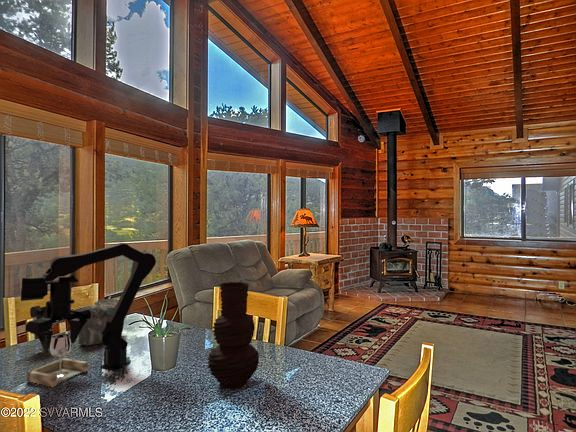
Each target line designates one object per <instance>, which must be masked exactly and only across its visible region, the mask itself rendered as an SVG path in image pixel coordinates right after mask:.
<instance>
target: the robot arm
mask: <svg viewBox="0 0 576 432" xmlns="http://www.w3.org/2000/svg"><path fill="white" fill-rule="evenodd" d="M122 256H123V257H125V258H127V259H129V260H131V261H132V265H131V273H130V276H129V278H128V280H127V282H126V285H125V286H124V289H123V291H122V293H121V294H120V297H119V299H118V300H119V301H118V303H117V305H116V307H115V309H114V311H113V313H112V315H111V316H110V317H109V318H108V319H106V318H103V320H102V323H101V325H100V327H99V328H98V330H99V332H98V336H99V338H100V340H101V341H102V343H101V344H103V345H104V346H105V347H104V351H103V364H102V365H100V368H101V369H106V370H112V371H113V370H114V371H118V370H119V369H122V368H123V367H125V366H127V365H129V364H130V363H131V362H130V361H128V360H127V354H128V353H127V348H128V345H129V343H128V341H127V340H126V339H125V338H124V337H123V336H122V334H123V332H124V331H123V330H124V325H125V319H126V317H127V315H128V312H129V310H130V308H131V306H132V304H133V302H134V300H135V298H136V296H137V294H138V293H139V292H138V291H139V290H140V287H141V285H142V284H143V281H144V280H145V279H146V277H148V275H149V274H150V273H151V272H152V271H153V269H154V267H155V266H156V264H157V263H156V262H157V259H156V256H155V255H153V254H152V253H150V252H149V253H148V252H146V251H139V250H138V249H135V248H133V247H132V246H130V245H129V244H128V243H124V242H120V243H119V242H118V243H117V244H114V245H111V246H107V247H102V248H100V249H99V248H98V249H96V250H92V251H88V252H85V253H79V254H78V253H77V254H67V255H58V256H55V257H54V258H52V259H51V261H50V262H49V268H48V269H47V270H46V272H44V273H43V275H42V276H38V277H36V276H35V277H26V276H25V277H22V278H21V287H20V302H26V301H35V300H37V301H38V300H44V297H46V296H48V293H49V300H47V301H46V303H45V306H42V308H40V307H41V306H40V305H36V306H32V307H31V306H30V310H29V311H30V312H29V314H30V317H31V319H33V320H30V321H27V322H26V324H25V333H30V334H31V335H35V336H36V337H37V338H38V340H39V342H40V345H41V347H43V349H44V352H43V353H45V354H49V353H50V351H49V349H50V344H51V339H52V336H53V333H54V332H53V331H54V330H52V329H53V327H52V325H54V326H55V325H58V324H61V323H65V322H67V323H68V324H69V327H70V329H69V330H70V331H69V332H70V334H69V335H70V338H71V344H75V343H76V341H77V338H79V333H80V331H81V329H82V328H83V326H84V325H85V323H86V322H87V321H88V320H87V319H89V318H91V312H90V310H89V309H82V308H80V307H79V308H75V309H72V304H75V299H72V283H79V279H78V278H77V277H75V275H74V274H73V273H74V272H75V273H76V272H77V271H78V270H80V269H82V268H84V267H86V266H89V265H90V266H91V265H93V264H96V263H97V264H98V263H100V262H104V261H108V260H111V259H114V258H118V257H122ZM67 275H68V276H67ZM48 287H49V288H48ZM34 317H36V319H37V320H34ZM41 318H46V319H48V318H50V320H44V319H41ZM56 320H57V321H56Z"/></svg>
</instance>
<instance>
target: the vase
mask: <svg viewBox="0 0 576 432" xmlns="http://www.w3.org/2000/svg"><path fill="white" fill-rule="evenodd" d="M218 286H219V289H220V291H219V295H220V302H221V303H220V309H221V311H220V313H221V315H219V316H218V318H216V319H214V321H215V322H214V323H213V326H212V329H213V330H212V333H213V334H212V335H213V337H214V340H215V343H216V344H218V345H216V346H215V347H214V348H211V349H210V352H209V353H208V357H207V360H208V361H207V364H208V365H207V367H208V368H209V371H210V372H211V373H210V374H211V375H212V376H213V377H214V379H216V382H217V383H219V386H220V387H221V388H222V389H224V390H231V391H234V390H238V389H242V388H244V387H245V386H246V385H247V384H248V381H249V380H250V379H251V378H252V376H253V375H254V374H255V372H256V371H257V369H258V366H259V363H260V359H259V358H260V355H259V351H258V350H257V349H256V348H255V346H253V345H252V344H250V343H251V342H252V339H253V338H254V332H255V329H256V326H255V323H254V319H253V318H252V317H251V316H250V315H248V313H247V312H248V296H249V294H248V292H249V291H248V290H249V287H250V285H249V282H242V281H229V282H222V283H220V284H218Z"/></svg>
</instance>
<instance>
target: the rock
mask: <svg viewBox="0 0 576 432" xmlns="http://www.w3.org/2000/svg"><path fill="white" fill-rule="evenodd" d="M118 301H119V299H118V298H109V299H98V300H96V301H95V302H94V305H93V306H90V305H86V306H83V307H82V308H81V309H89V310H90V312H91V318H89V319H87V320H88V321H87V322H86V323H85V325H84V326H83V328H82V329H81V331H80V333H79V335H78V340H77V343H78V344H79V345H81V346H82V345H83V346H88V345H89V346H93V345H95V346H96V345H99V344H103V343H102V341H101V340H100V338H99V336H98V332H99V330H98V328H99V327H100V325H101V323H102V320H103V318H106V319H108V318H109V317H110V316H111V315H112V313H113V311H114V309H115V307H116V305H117V303H118Z"/></svg>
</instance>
